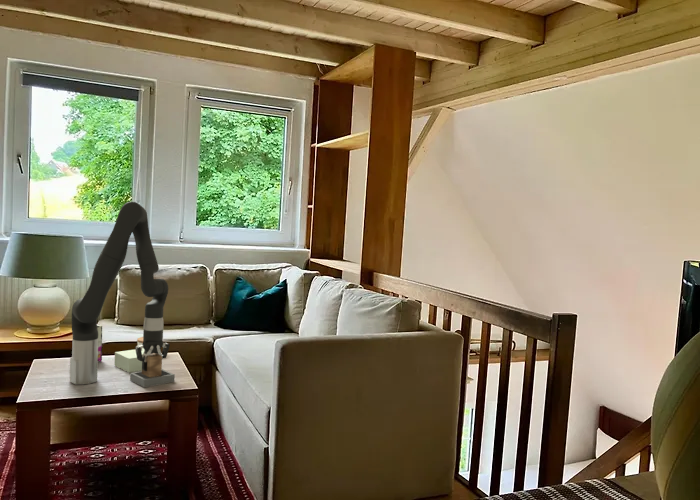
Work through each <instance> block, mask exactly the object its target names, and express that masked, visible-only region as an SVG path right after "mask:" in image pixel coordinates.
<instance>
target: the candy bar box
mask: <svg viewBox="0 0 700 500" xmlns="http://www.w3.org/2000/svg"><path fill="white" fill-rule="evenodd" d="M97 329H98V362H102V361H103V325H102V324H98V323H97Z"/></svg>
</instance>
